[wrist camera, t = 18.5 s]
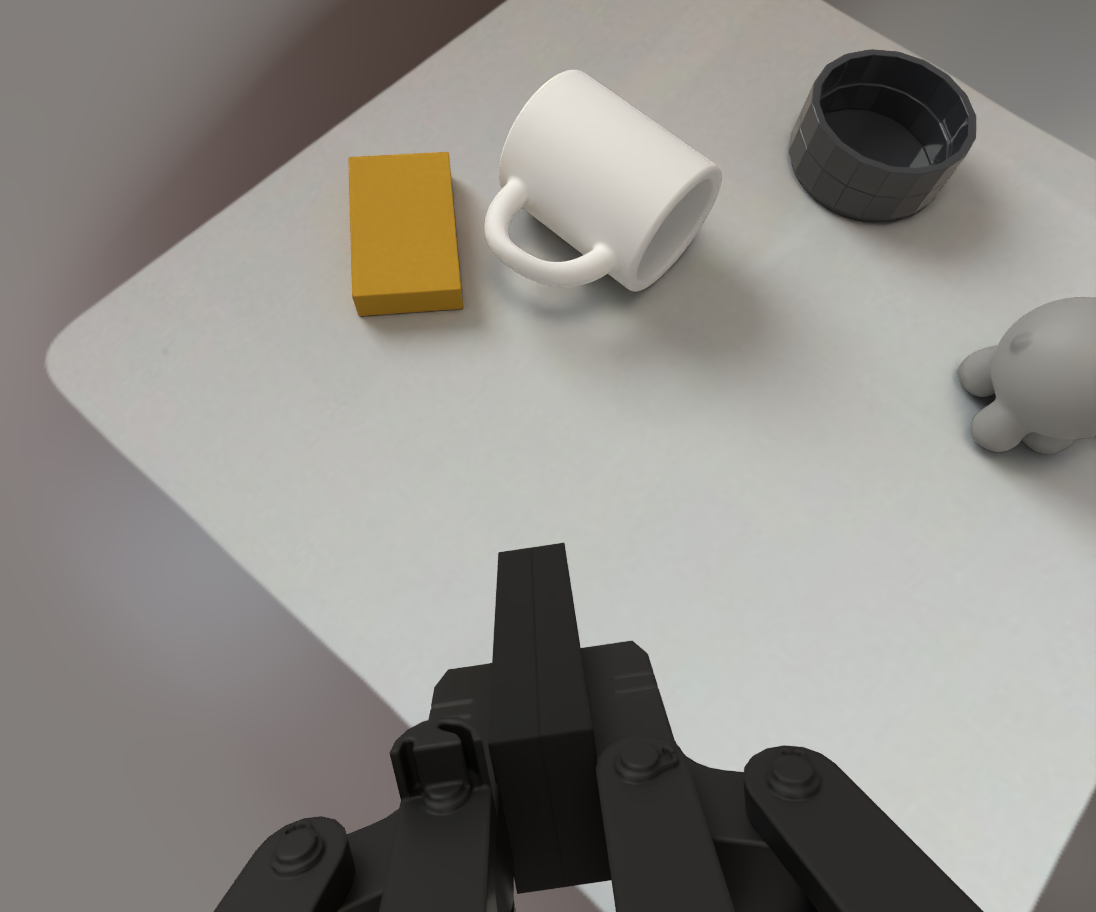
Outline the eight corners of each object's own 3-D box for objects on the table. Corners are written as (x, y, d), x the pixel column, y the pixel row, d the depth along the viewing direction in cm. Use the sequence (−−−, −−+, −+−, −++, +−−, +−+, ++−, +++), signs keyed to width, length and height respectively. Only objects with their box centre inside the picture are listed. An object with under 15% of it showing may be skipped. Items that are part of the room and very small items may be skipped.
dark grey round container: (808, 230, 47) (837, 179, 43) (771, 110, 51) (794, 52, 47) (957, 221, 48) (1000, 169, 44) (910, 103, 52) (945, 45, 48)
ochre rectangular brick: (358, 316, 43) (352, 296, 41) (354, 180, 47) (348, 156, 45) (463, 309, 44) (461, 289, 42) (450, 175, 47) (448, 151, 45)
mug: (582, 150, 49) (596, 40, 41) (702, 238, 46) (740, 139, 39) (451, 259, 45) (440, 160, 37) (575, 360, 43) (589, 276, 35)
